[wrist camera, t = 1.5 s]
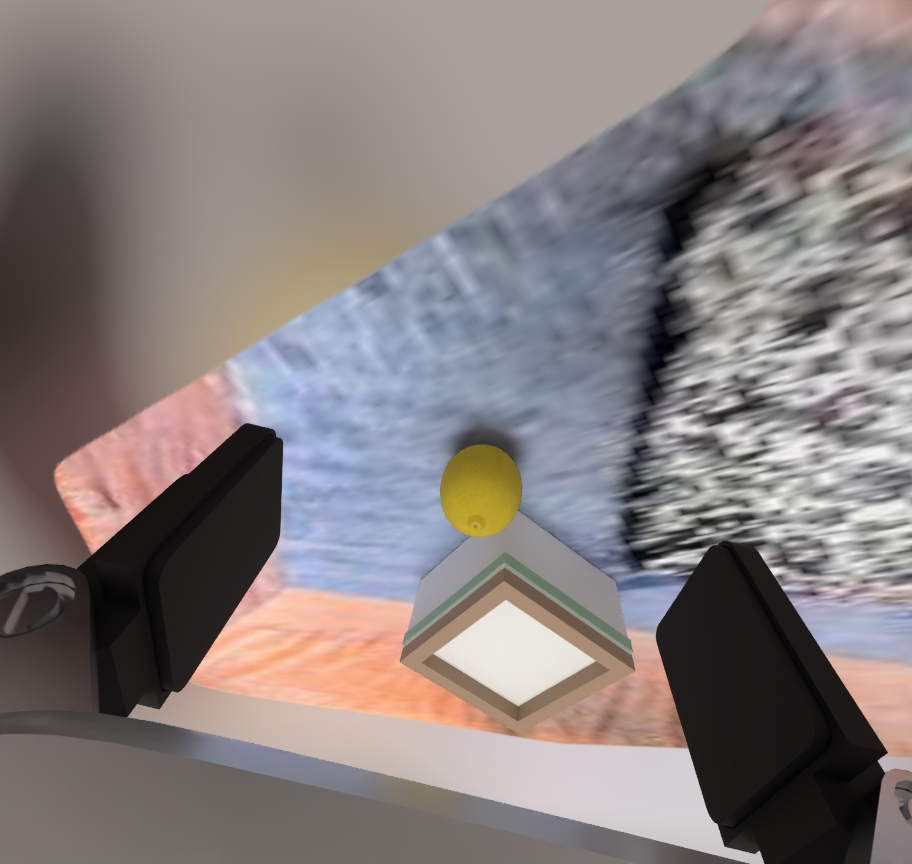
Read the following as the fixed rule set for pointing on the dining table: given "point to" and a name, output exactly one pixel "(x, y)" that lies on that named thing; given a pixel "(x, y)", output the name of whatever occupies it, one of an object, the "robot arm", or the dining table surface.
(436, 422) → the dining table surface
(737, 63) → the dining table surface
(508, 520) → the lemon
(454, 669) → the stand
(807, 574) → the dining table surface
